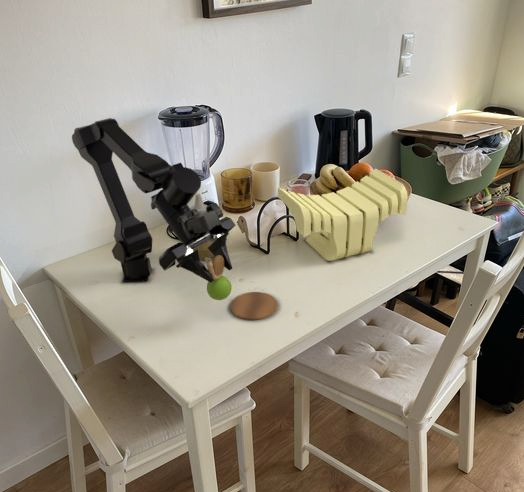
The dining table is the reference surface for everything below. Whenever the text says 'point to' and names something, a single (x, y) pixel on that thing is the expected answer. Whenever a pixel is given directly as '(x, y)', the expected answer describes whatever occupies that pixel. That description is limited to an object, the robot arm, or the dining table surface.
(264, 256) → the dining table surface
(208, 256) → the squeeze bottle
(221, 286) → the snail figurine
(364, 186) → the slatted curved stool
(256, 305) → the plate
